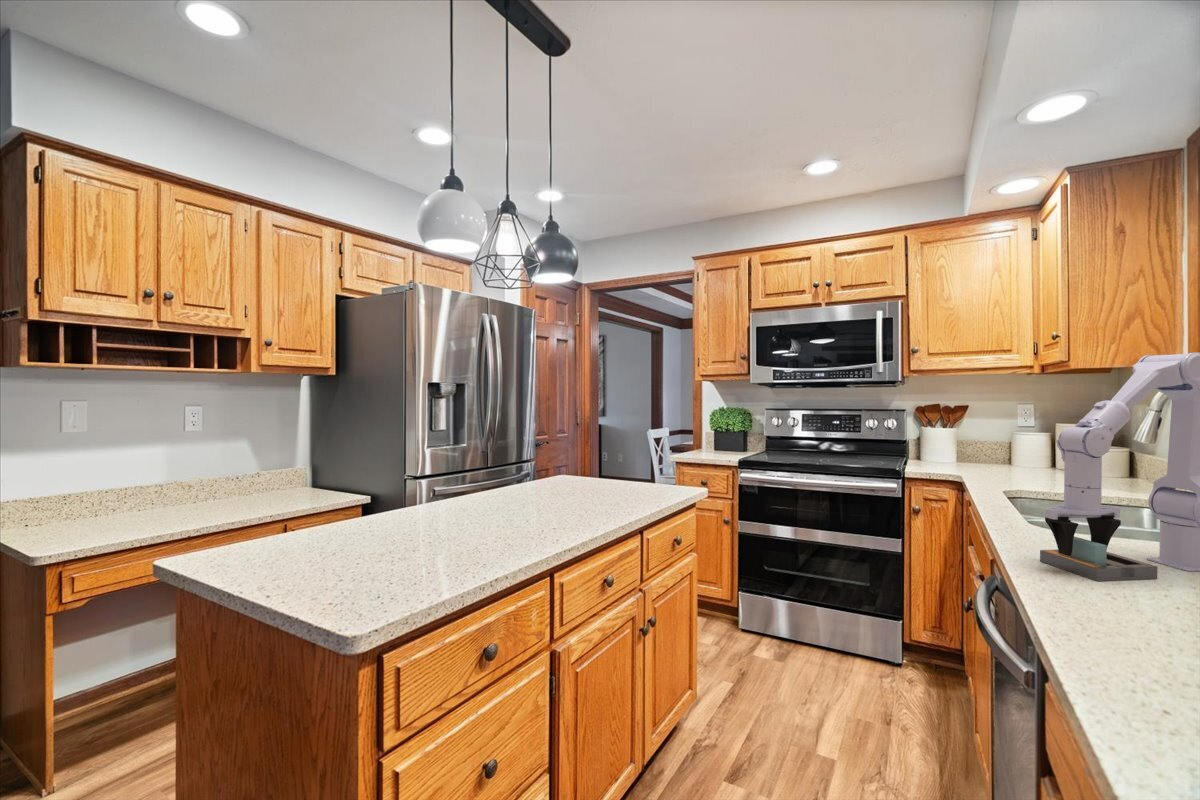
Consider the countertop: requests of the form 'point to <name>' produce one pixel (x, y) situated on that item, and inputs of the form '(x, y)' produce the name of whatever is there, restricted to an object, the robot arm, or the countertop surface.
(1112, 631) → the countertop surface
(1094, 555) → the panel
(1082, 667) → the countertop surface
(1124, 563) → the panel rack
